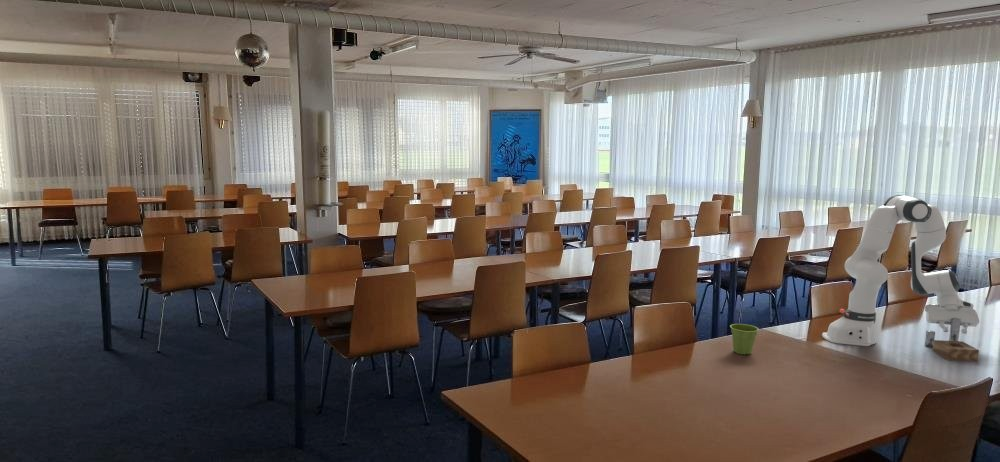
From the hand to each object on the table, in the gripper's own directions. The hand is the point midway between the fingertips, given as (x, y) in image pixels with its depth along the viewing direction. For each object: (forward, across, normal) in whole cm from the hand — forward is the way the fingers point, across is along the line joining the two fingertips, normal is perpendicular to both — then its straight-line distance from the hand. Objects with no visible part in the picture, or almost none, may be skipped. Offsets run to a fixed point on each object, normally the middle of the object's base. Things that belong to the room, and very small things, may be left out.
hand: (955, 332), depth 295 cm
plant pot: (+31, -92, -19) cm, 99 cm away
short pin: (+5, -9, +6) cm, 12 cm away
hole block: (+13, -3, -2) cm, 14 cm away
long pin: (+5, 0, +6) cm, 8 cm away
